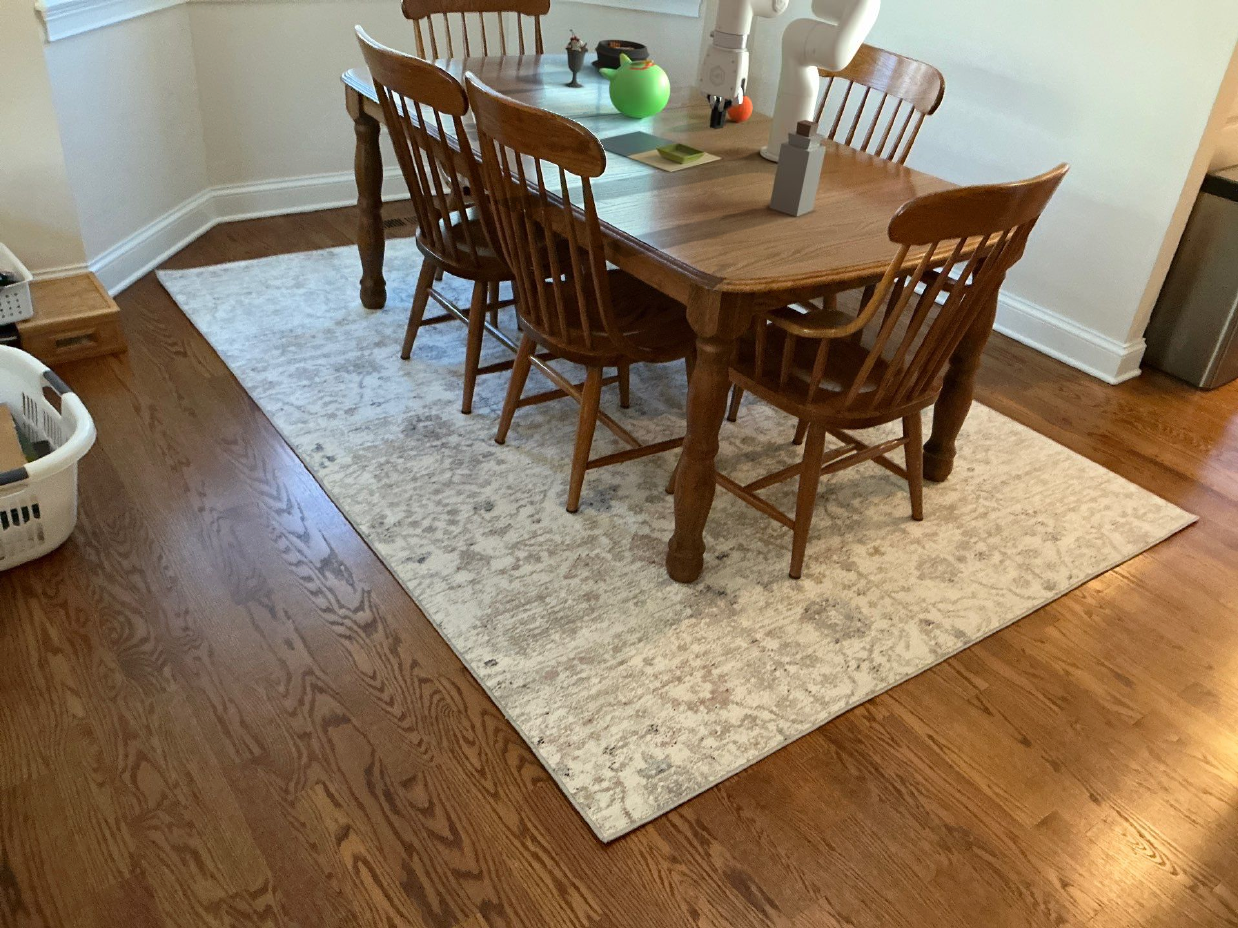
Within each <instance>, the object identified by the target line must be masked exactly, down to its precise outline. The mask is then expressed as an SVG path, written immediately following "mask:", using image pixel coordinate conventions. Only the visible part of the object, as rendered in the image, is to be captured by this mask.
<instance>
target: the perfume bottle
mask: <svg viewBox="0 0 1238 928" xmlns="http://www.w3.org/2000/svg"><path fill="white" fill-rule="evenodd" d="M819 125H820V123H818V122H815V121H812V122H811V121H808V120H803V121H799V122H797V130H796V131H792V132H789V133H788V140H789V141H788V142H785V143H781V148H780V153H779V159H778V162H777V164H776V169H775V176H774V181H773V186H772V191H771V196H770V203H769V206H768V207H769V208H770V209H773V210H775V211H778V212H780V213H781V212H782V213H784V214H787V215H789V216H790V215H791V216H793V217H800V216H803V215H806V214H807V213H810V212H812V211H814V207H815V201H816V196H817V191H818V189H819V188H818V187H819V183H820V177H821V173H822V168H823V164H824V158H825V155H826V149H827V146H825V145H822V144H821V142H822V141H823V138H824V137H825V135H824V134H820V133H818V128H819Z"/></svg>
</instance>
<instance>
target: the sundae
mask: <svg viewBox="0 0 1238 928" xmlns="http://www.w3.org/2000/svg"><path fill="white" fill-rule="evenodd" d="M569 32H571V35H572V36H571V37H570V38H569V40H570V41H569V42H568V43H567V45H566V47H564V49H565V51H566V54H567V55H566V56H567V66H568V67H567V68H568V69H569V71H570V72H571V73H572V77H571V81H570V82H567V83H565V86H567V87H569V88H575V89H576V88H577V89H578V88H582V87H583V84H581V83H579V82H578V80H577V75H578V73H580V72H581V71H582V70H583V66H584V63H585V62H584V61H585V57H586V53H588V52H589V49H588V47H587V45H588V42H586V43H584V42H583V41H582V39H580V38H578V36H576V35H575V33H574V31H573V29H569Z"/></svg>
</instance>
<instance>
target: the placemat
mask: <svg viewBox="0 0 1238 928" xmlns="http://www.w3.org/2000/svg"><path fill="white" fill-rule="evenodd" d="M598 140H600V142H601V144H602V145H603V148H604V149H603V150H605V151H608V152H611V153H614V154H616V155H619V156H622V157H625V158H628V159H632V160H634V161H637V162H640V163H643V164H646V165H647V166H648V165H649V166H651V167H654V168H656V169H660V170H663V171H666V172H668V173H672V172H675V171H679V170H683V169H687V168H691V167H695V166H699V165H702V164H706V163H710V162H715V161H718V160H722V157H720V156H716V155H713V154H711V153H708V152H706V153H705V154H704V155H703V156H702V157H701V158H700V159H698V160H696V161H692V162H687V163H684V164H680V163H678V162H675V161H672V160H669V159H666V158H664V157H662V156H661V155H660V154H659V153H658V151H657V149H656V148H657V147H661V146H666V145H670V144H675V143H676V142H674V141H672V140H668V139H665V138H663V137H658V136H657V135H653V134H651V133H650V134H649V133H647V132H643V131H640V130H639V131H633V132H629V133H624V134H620V135H615V136H610V137H605V138H600V139H598Z"/></svg>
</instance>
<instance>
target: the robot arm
mask: <svg viewBox="0 0 1238 928" xmlns="http://www.w3.org/2000/svg"><path fill="white" fill-rule="evenodd" d="M789 1H790V0H718V6H717V11H716V12H717V13H716V18H715V25H714V30H711V31H709V32H710V33H709V37H710V38H712V43H709V44H708V47H707V49H706V52H705V55H704V57H703V62H702V66H701V70H700V74H699V79H698V90H700V95H701V96H702V97H703V98H705V99H707V102H708V103H709V109H711V111H710V117H709V128H711V129H714V130H719V129H723V128H724V126H725V123H726V117H727V110H729V109H730V107H732V106H738V105H742V97H743V96H744V95H745V94H746V91H747V83H748V78H749V64H750V62H749V61H750V60H749V59H750V55H749V51H748V44H749V39H750V33H751V26H752V22H753V21H752V20H753V17H754V16H755V17H761V18H765V19H774V18H777V17H779V16H781V15H782V14H783V13H784V12H785V11H786V10H787V7H788V5H789ZM880 7H881V0H811V4H810V8H811V12H812V14H813V15H814V17H816V18H817V19H819V20H817V19H813V18H807V17H801V18H796V19H794V20H792V21H790V22H789V23H788V25H787V26H786V27H785V29H784V31H783V33H782V38H781V65H780V75H779V79H778V86H777V92H776V97H775V103H774V109H773V114H772V119H771V126H770V130H769V137H768V142H767V143H768V144H767V145H765V146H762V147H761V148H760V152H759V153H760V156H761V157H763V158H764V159H767V160H768V161H772V162H776V163H778V159H779V153H780V148H781V143H785V142H788V141H789V140H788V133H789V132H792V131H796V130H797V122H799V121H803V120H808V121H811V122H813V119H814V115H815V110H816V103H817V99H818V94H819V91H820V90H819V88H820V76H819V71H818V69H820V70H823V71H827V72H834V73H837V72H840V71H843V70H844V69H845V68H846V67H847V66H848V65H849V64H850V62H851V61H852V60H853V59H854V57H855V55H856V54H857V52H858V50H859V49H860V47H861V45H862V44H863V42H864V41H865V40H866V37H867V36H868V34H869V32H870V31H871V30H872V27H873V26H874V24H875V23H876V20H877V17H878V15H879V12H880V9H881V8H880ZM733 98H734V100H732V99H733Z"/></svg>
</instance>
